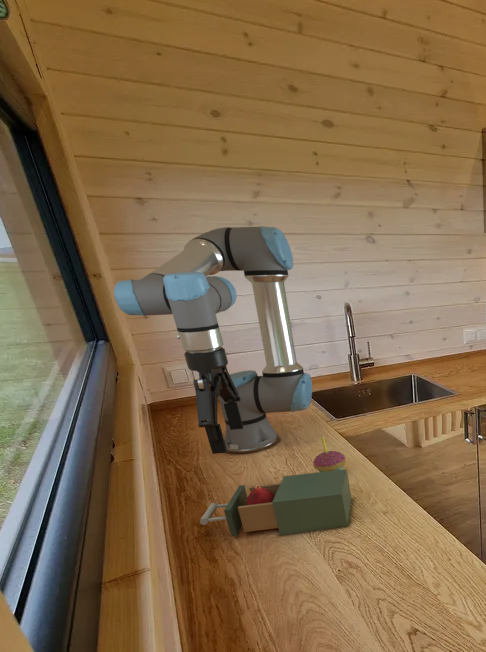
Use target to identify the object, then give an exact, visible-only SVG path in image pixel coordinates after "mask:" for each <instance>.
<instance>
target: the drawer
mask: <svg viewBox="0 0 486 652" xmlns="http://www.w3.org/2000/svg"><path fill="white" fill-rule="evenodd" d="M280 484H281V482H277V483H270V484H260V485H261V488H265V489H267V490H269V491H271V492H272V494H273V495H274V497H275V495H276V493H277V490H278V488H279V486H280ZM255 487H256V485H250V486H249V488H248V489H249V494H250V493H251V491H252V490H254V488H255ZM233 493H234V494H233V495H232V497H231V498H230V499H229V501H228V503H220V504H218V503H217V502H212V503H210V504H209V506H208V508H207V509H206V510H205V512H204V513H203V515H202V516H201V518H200V519H199V523H200V525H202V526H205V525H208V523H210V522H218V521H226V522H227V526H228V530H229V532H230V536H231V537H233V538H234V537H238V535H239V534H240V532H241V530H242V528H243V532H244V533H248V532H257V531H264V530H274V529H278V525H277V520H276V516H275V512H274V508H273V504H272V502H271V503H262V504H254V505H247V497H248V493H247V489H246V485H245V484H241V485H238V486H237V488H236V490H235V491H234V492H233ZM218 508H219V509H221V508H224V510H223V512H224V515H225V516H216V517H213V515H214V514H215V512H216V511H217V509H218Z"/></svg>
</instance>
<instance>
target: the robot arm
mask: <svg viewBox="0 0 486 652" xmlns="http://www.w3.org/2000/svg"><path fill="white" fill-rule="evenodd" d="M293 268H294V257H293V253H292V249H291V246H290V243H289V241H288V239H287V237H286V235H285V234H284V232H283V231H282V230H281V229H279V228H278V227H275V226H264V225H263V226H262V225H261V226H242V227H241V226H239V227H230V226H229V227H227V226H225V227H218V228H214V229H211V230H208V231H206V232H203V233H201V234H199V235H197V236H195V237H194V238H192V239H191V240H188V241H187V242H186V243H185V244H184V247H183V249H182V251H181V252H179V253H178V254H176V255H175V256H173V257H172V258H170V259H169V260H167V261H166V262H164V263H163V264H162V265H160V266H159V267H157V268H155V269H154V270H153V271H151V272H149V273H148V274H147V275H145V276H143V277H142V278H140V279H133V278H132V279H131V278H130V279H126V280H125V279H124V280H120V281H117V283H116V284H115V286H114V289H113V296H114V300H115V302H116V304H117V306H118V308H119V309H120V311H121V312H122V313H124V314H125V315H128V316H142V317H147V316H163V315H164V316H165V315H168V316H169V315H172V316H173V320H174V324H175V326H176V330H177V336H176V339H178V340H180V344H181V347H182V350H184V351H185V352H184V353H183V355H184V359H185V362H186V366H187V368H188V370H190V371H193V372H197V373H198V376H199V377H198V379H193V382H192V383H193V387H194V390H195V400H196V411H197V421H198V424H197V425H198V427H199V428H204V429H205V432H206V436H207V440H208V443H209V447H210V450H211V454H212V455H217V454H225V453H226V454H227V453H230V454H239V455H240V454H251V453H256V452H259V451H263V450H265V449H269V448H270V447H272V446H274V445H275V444H276V443H278V440H279V437H278V433H277V432H276V430H275V429H274V427H273V426H272V424H271V423H270V421H269V419H268V418H267V414H271V413H272V414H273V413H294V412H302V411H306V410H307V409H308V408H309V407H310V405H311V401H312V397H313V380H312V376H311V374H309V373H307V372H304V367H303V366H302V365H301V364H299V363H298V360H297V356H296V348H295V341H294V335H293V331H292V323H291V317H290V311H289V305H288V299H287V292H286V287H285V282H286V280H287V279H288V278H289V271H291V270H292V269H293ZM229 271H231V272H232V271H233V272H235V271H236V272H237V271H238V272H240V271H243V275H244V278H245V279H246V280H248V281H249V282H250V283H251V286H252V287H251V288H252V292H253V297H254V298H253V299H254V302H255V308H256V313H257V319H258V320H257V321H258V327H259V331H260V336H261V342H262V347H263V352H264V353H263V354H264V358H265V363H266V364H265V367H264V368H263V369H262V370H261V371H262V372H261V373H262V375H258V372H257V371H256V370H251V369H250V370H241V371H237V372H233V373H230V372H229V371H228V367H227V365H228V363H229V360H228V357H227V353H226V349H225V348H224V347H223V346H224V339H223V336H222V332H221V328H220V325H219V321H218V319H217V314H219V313H221V312H226V311H227V310H229V309H230V308H231V307H233V306H234V304H236V301H237V297H238V296H237V295H238V294H237V291H236V288H235V286H234V284H233V283H232V282H231V281H229V280H228V279H227V278H225V277H222V276H218V275H216V274H218V273H219V272H229ZM218 402H219V405H220V409H221V413H222V417H223V420H224V423H225V430H224V433H223V431H222V427H221V424H220V423H218Z"/></svg>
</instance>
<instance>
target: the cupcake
mask: <svg viewBox="0 0 486 652" xmlns="http://www.w3.org/2000/svg"><path fill="white" fill-rule="evenodd" d="M321 440H322V441H321V442H322V445H323V450H324V451H323V452H321V453H319V454H318V455H317V456H316V457H315V458H314V459H313V468H314V469H315V470H316V471H318V472H327V471H336V470H343V466H345V465H346V463H347V458H346V455H345V454H344V453H342V452H340V451H336V450H328V448H327V444H326V440H325V437H324V436H323V435H321Z"/></svg>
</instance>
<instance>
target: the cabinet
mask: <svg viewBox="0 0 486 652" xmlns="http://www.w3.org/2000/svg"><path fill="white" fill-rule="evenodd" d="M348 474H349V473H348V469H342V470H336V471H327V472H319V471H318V472H310V473H309V472H308V473H301V474H299V473H298V474H291V475H284V476H283V477H282V480H281V482H280V483H281V484H280V486H279V488H278V490H277V493H276V495H275V497H274V499H273V502H272V504H273V508H274V512H275V516H276V520H277V525H278V528H277V529H278V532H279V536H284V535H292V534H301V533H307V532H314V531H315V532H316V531H323V530H330V529H338V528H339V529H340V528H346V527H348V526H349V520H350V513H351V506H352V501H353V498H352V493H351V486H350V480H349V475H348Z"/></svg>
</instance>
